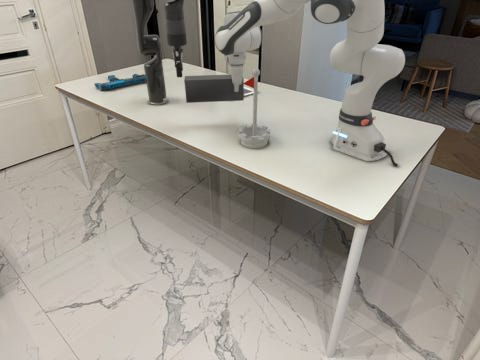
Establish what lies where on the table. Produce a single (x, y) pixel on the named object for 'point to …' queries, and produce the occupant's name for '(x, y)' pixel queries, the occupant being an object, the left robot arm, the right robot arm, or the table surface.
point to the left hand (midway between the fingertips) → (180, 73)
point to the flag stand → (254, 121)
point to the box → (212, 89)
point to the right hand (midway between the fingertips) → (235, 88)
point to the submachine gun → (120, 81)
